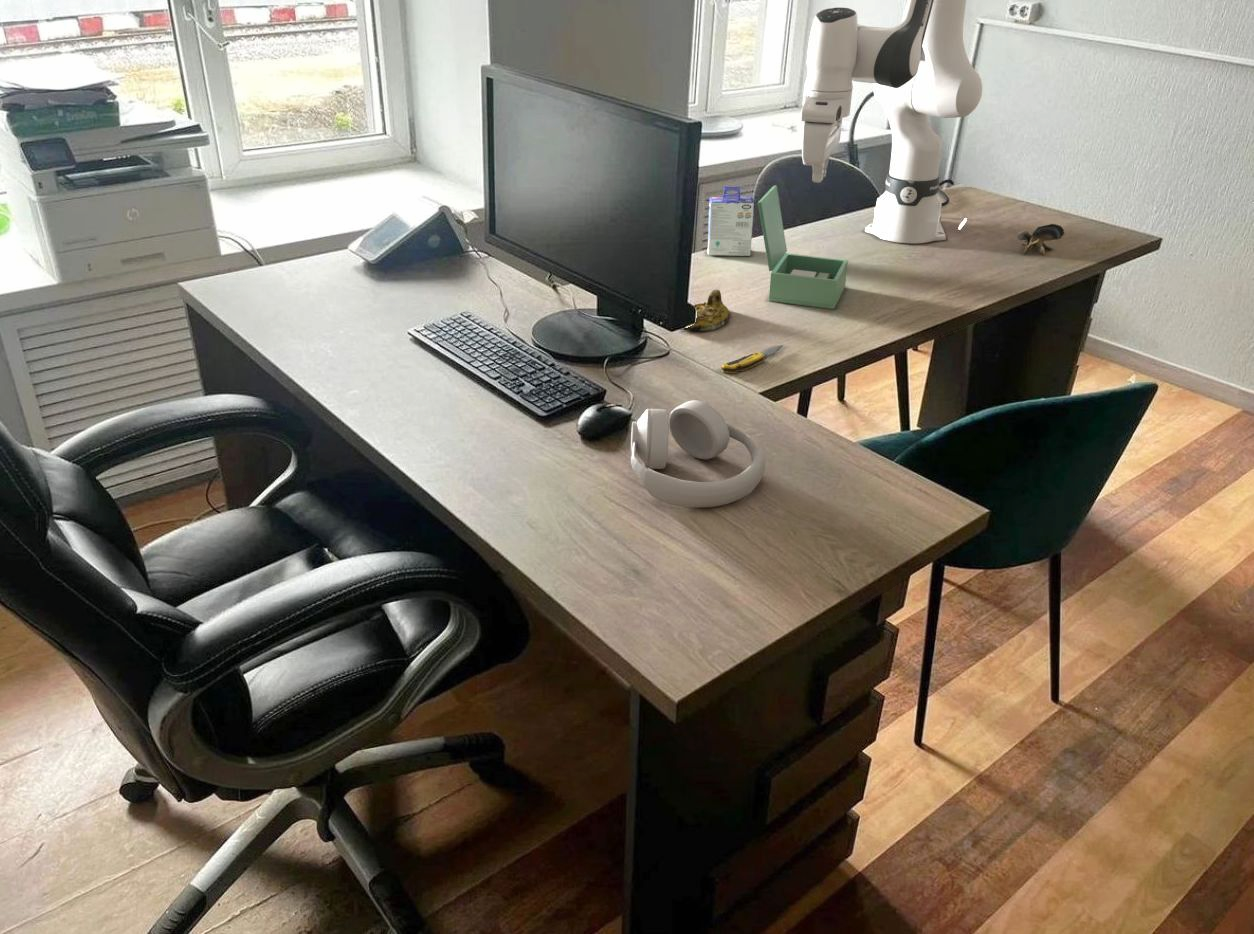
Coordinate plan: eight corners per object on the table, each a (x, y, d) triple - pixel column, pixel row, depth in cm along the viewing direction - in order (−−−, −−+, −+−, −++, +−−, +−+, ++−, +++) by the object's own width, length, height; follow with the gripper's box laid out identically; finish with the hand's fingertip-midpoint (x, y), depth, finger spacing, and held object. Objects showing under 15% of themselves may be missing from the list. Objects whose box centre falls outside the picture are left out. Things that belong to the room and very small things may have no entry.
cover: (776, 185, 203) (773, 185, 203) (761, 202, 192) (757, 202, 192) (787, 251, 208) (783, 251, 209) (772, 270, 197) (769, 271, 197)
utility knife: (775, 338, 180) (789, 342, 179) (775, 344, 181) (788, 349, 179) (720, 365, 170) (734, 370, 168) (720, 371, 170) (734, 376, 169)
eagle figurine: (1046, 256, 223) (1070, 241, 227) (1033, 226, 222) (1058, 212, 226) (1019, 265, 230) (1043, 251, 234) (1007, 237, 229) (1031, 223, 233)
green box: (845, 287, 208) (848, 260, 205) (833, 309, 197) (837, 281, 194) (782, 279, 211) (785, 253, 209) (768, 300, 200) (770, 273, 197)
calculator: (784, 291, 203) (785, 275, 201) (789, 283, 207) (790, 268, 205) (826, 296, 200) (827, 280, 199) (830, 288, 204) (832, 273, 203)
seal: (709, 342, 184) (738, 315, 196) (712, 319, 182) (742, 293, 193) (663, 328, 187) (695, 302, 199) (666, 305, 185) (699, 280, 196)
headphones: (603, 448, 145) (661, 534, 131) (606, 404, 140) (666, 488, 126) (715, 426, 151) (782, 505, 137) (721, 382, 147) (791, 460, 132)
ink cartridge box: (749, 249, 230) (753, 185, 222) (751, 256, 225) (756, 192, 218) (706, 248, 230) (709, 185, 222) (707, 256, 225) (710, 191, 218)
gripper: (819, 94, 195) (812, 166, 202) (798, 112, 178) (791, 190, 185) (852, 96, 193) (844, 169, 200) (834, 115, 176) (825, 194, 183)
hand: (818, 179), depth 193 cm, fingers closed
